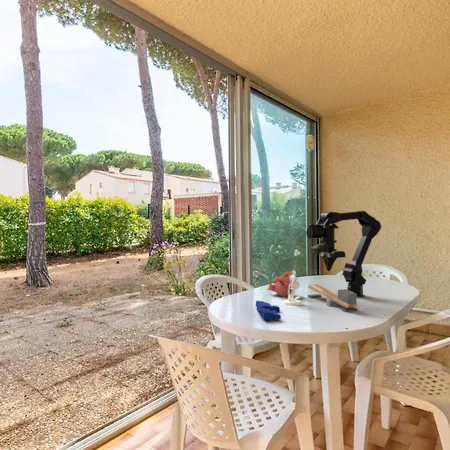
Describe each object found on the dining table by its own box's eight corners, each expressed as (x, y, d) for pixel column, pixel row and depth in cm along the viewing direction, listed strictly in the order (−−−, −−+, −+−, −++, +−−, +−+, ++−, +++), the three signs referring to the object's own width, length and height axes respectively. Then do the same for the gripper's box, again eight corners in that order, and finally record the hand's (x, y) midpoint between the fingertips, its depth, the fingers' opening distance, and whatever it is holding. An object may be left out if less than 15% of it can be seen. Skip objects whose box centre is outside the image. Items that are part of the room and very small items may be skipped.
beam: (317, 287, 168) (317, 284, 167) (357, 307, 139) (357, 303, 139) (308, 287, 166) (308, 284, 166) (346, 308, 138) (347, 304, 137)
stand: (319, 295, 168) (319, 291, 168) (359, 310, 139) (359, 304, 139) (306, 296, 166) (306, 292, 166) (344, 312, 137) (344, 306, 137)
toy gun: (274, 299, 148) (251, 297, 147) (288, 312, 127) (262, 309, 126) (272, 309, 148) (250, 306, 147) (287, 323, 127) (261, 321, 126)
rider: (345, 298, 145) (346, 289, 145) (356, 303, 139) (356, 293, 138) (337, 299, 144) (338, 289, 144) (347, 304, 137) (348, 294, 137)
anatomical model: (294, 269, 165) (264, 269, 170) (294, 295, 161) (262, 294, 166) (297, 273, 174) (268, 273, 179) (296, 298, 170) (267, 297, 175)
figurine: (302, 305, 149) (302, 271, 148) (282, 305, 150) (281, 271, 150) (301, 301, 157) (301, 268, 157) (282, 300, 159) (282, 268, 159)
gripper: (303, 237, 169) (303, 269, 169) (324, 239, 151) (324, 274, 151) (323, 237, 172) (323, 268, 172) (346, 239, 154) (346, 273, 154)
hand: (328, 270), depth 162 cm, fingers closed
